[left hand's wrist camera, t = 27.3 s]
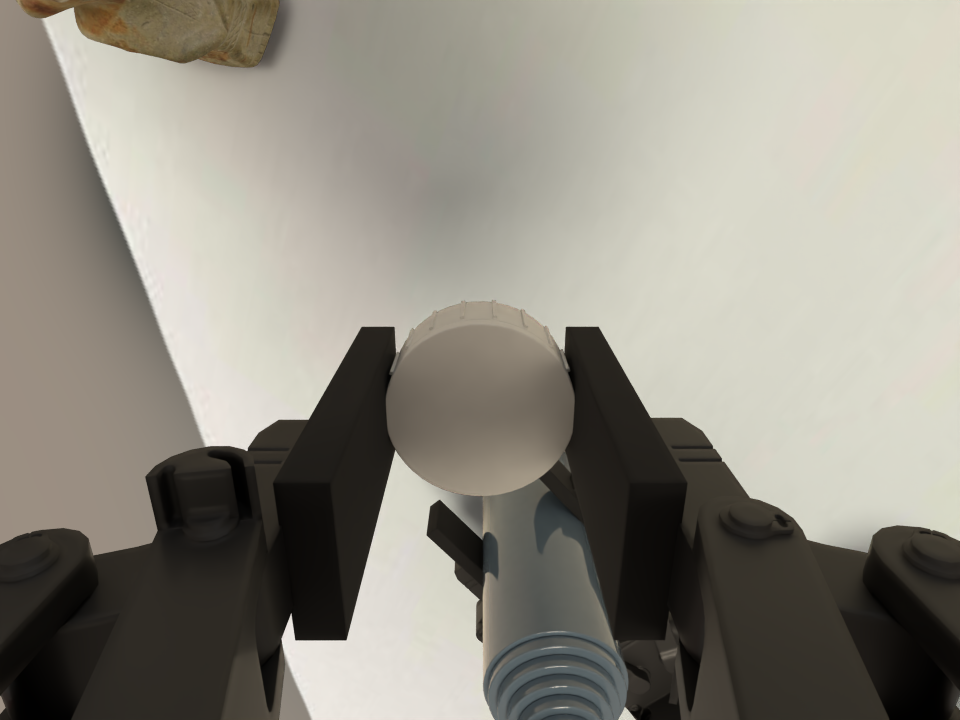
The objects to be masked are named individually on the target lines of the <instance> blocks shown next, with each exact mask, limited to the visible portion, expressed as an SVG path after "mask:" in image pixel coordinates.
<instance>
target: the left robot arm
mask: <svg viewBox="0 0 960 720" xmlns="http://www.w3.org/2000/svg"><path fill="white" fill-rule="evenodd" d="M564 354H565V357H566V360H567V363H568V365H569V368H570V372H568V374H569V376H570V379H571V382H572V386H573V389H574V393H575V404H574V420H573V433H572V436H571V439H570V441H569V443H568V445H567V447H566V449H565V451H566V455H567V459H568V463H569V467H570V471H571V475H572V479H573V483H574V486H575V490H576V494H577V498H578V502H579V506H580V510H581V514H582V518H583V521H584V525H585V529H586V533H587V537H588V541H589V545H590V549H591V553H592V557H593V560H594V564H595V568H596V572H597V576H598V580H599V584H600V588H601V592H602V595H603V599H604V603H605V607H606V611H607V615H608V619H609V623H610V627H611V631H612V634H613V638H614V640H665V637H666V630H667V623H668V616H669V611H670V613H671V616H672V618H673V621H674V624H675V626H676V629H677V631H678V634H679V640H678V646H677V653H676V659H675V666H674V672H673V678H672V685H671V691H670V698H669V703H671V704H677V701H678V696H679V705H680V714H681V720H960V710H959V709H958V708H957V706H956V703H957V701H958V698H959V696H960V541H958V540H956V539H954V538H951V537H949V536H948V535H946V534H944V533H941V532H938V531H935V530H933V531H931V530H930V529H926V528H921V527H910V526H892V527H886V528H882V529H880V530H879V531H878V532H877V533H875V534H874V535H873V537H872V541H871V544H870V548H869V551H868V553H865V552H860V551H855V550H850V549H845V548H840V547H835V546H830V545H825V544H821V543H817V542H813V541H809V540H807V539H806V537H805V535H804V532H803V530H802V529H801V528H800V526H799V525H798V524H797V522H796V521H795V520H794V519H793V518H792V517H791V516H789V515H788V514H786V513H785V512H783V511H782V510H781V509H779V508H777V507H775V506H772V505H770V504H768V503H765V502H763V501H760V500H756V499H751V498H750V497H749V496H748V495H747V493H746V492H745V490H744V489H743V488H742V486H741V485H740V483H739V482H738V481H737V479H736V478H735V476H734V475H733V474H732V472H731V471H730V469H729V468H728V467H727V465H726V464H725V462H722V458H721V457H720V455H719V454H718V453H717V451H716V450H715V449H713V445H712V444H711V443H710V441H709V440H708V438H707V437H706V436H705V434H704V433H703V431H701V430H700V429H698V428H697V427H695V426H694V425H692V424H691V423H689V422H687V421H686V420H684V419H683V418H650V416H649V414H648V412H647V411H646V409H645V407H644V405H643V404H642V402H641V400H640V398H639V397H638V395H637V393H636V392H635V390H634V388H633V386H632V385H631V383H630V381H629V379H628V378H627V376H626V374H625V372H624V371H623V369H622V367H621V365H620V364H619V362H618V360H617V358H616V357H615V355H614V353H613V351H612V350H611V348H610V346H609V344H608V343H607V341H606V339H605V337H604V336H603V334H602V332H601V330H600V329H599V327H566V335H565V353H564ZM395 356H396V346H395V327H361V329H360V331H359V333H358V334H357V336H356V338H355V340H354V341H353V343H352V345H351V347H350V348H349V350H348V352H347V354H346V355H345V357H344V359H343V361H342V363H341V364H340V366H339V368H338V370H337V371H336V373H335V375H334V377H333V378H332V380H331V382H330V384H329V385H328V387H327V389H326V391H325V392H324V394H323V396H322V398H321V399H320V401H319V403H318V405H317V406H316V408H315V410H314V412H313V413H312V415H311V417H310V419H309V420H278V421H276V422H275V423H273V424H272V425H270V426H269V427H267V428H265V429H264V430H262V431H261V432H259V433H258V435H257V436H256V437H255V439H254V440H253V442H252V443H251V444H250V446H249V447H248V451H245V450H243V449H239V448H235V447H231V446H210V447H204V448H199V449H193V450H189V451H186V452H183V453H180V454H178V455H175V456H172V457H170V458H168V459H166V460H165V461H163V462H161V463H160V464H158V465H156V466H155V467H154V468H153V469H152V470H151V471H150V472H149V473H148V474H147V475H146V482H147V486H148V491H149V495H150V499H151V503H152V508H153V512H154V516H155V521H156V525H157V529H158V531H157V534H156V536H155V538H154V540H153V542H152V543H150V544H146V545H142V546H139V547H134V548H129V549H124V550H119V551H114V552H109V553H104V554H99V555H94V556H93V553H92V549H91V546H90V542H89V539H88V538H87V537H86V536H85V535H84V534H82V533H81V532H80V531H76V530H71V529H65V528H60V529H49V530H39V531H34V532H31V533H30V534H29V533H26V534H23V535H20V536H17V537H15V538H13V539H12V540H9V541H7V542H5V543H3V544H0V696H1V697H2V699H3V702H4V704H5V707H6V708H5V709H4V710H3V712H2V713H1V714H0V720H279V715H280V706H281V697H282V688H283V679H284V670H285V659H284V653H283V646H282V640H281V638H282V636H283V633H284V630H285V628H286V625H287V623H288V620H289V617H290V615H291V613H292V620H293V627H294V634H295V640H347V636H348V632H349V628H350V624H351V620H352V617H353V613H354V609H355V605H356V601H357V597H358V593H359V589H360V585H361V581H362V578H363V574H364V570H365V566H366V562H367V558H368V554H369V550H370V546H371V543H372V539H373V535H374V531H375V527H376V523H377V519H378V515H379V511H380V507H381V504H382V500H383V496H384V492H385V488H386V484H387V480H388V476H389V472H390V468H391V465H392V461H393V457H394V453H395V448H394V446H393V444H392V442H391V439H390V437H389V434H388V428H387V413H386V392H387V388H388V385H389V382H390V379H391V376H392V375H390V374H389V373H390V370H391V367H392V365H393V362H394V359H395Z"/></svg>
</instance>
